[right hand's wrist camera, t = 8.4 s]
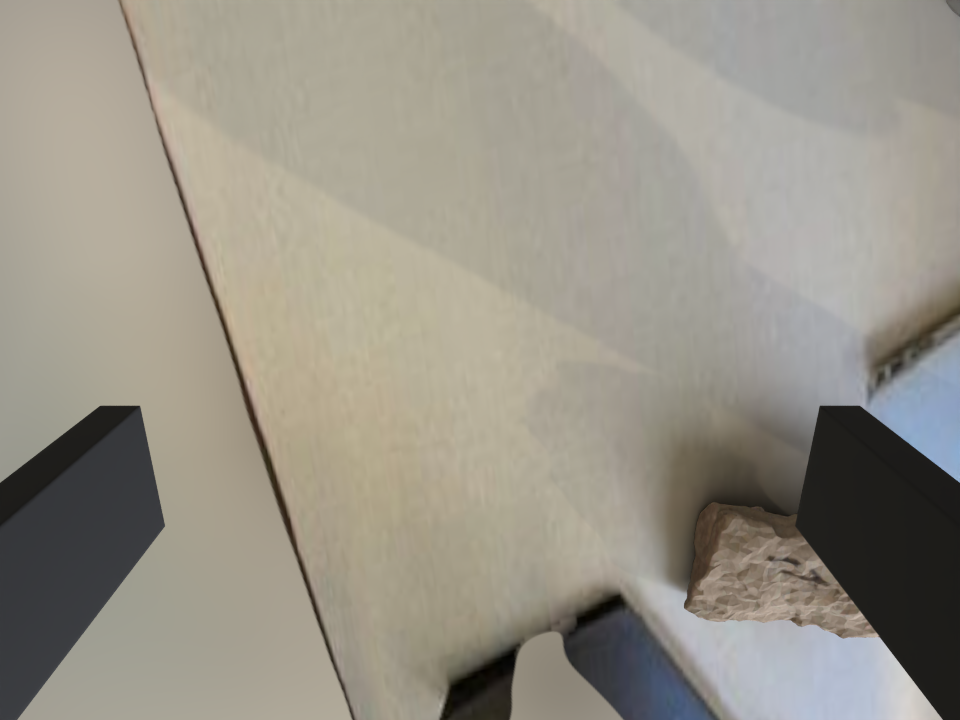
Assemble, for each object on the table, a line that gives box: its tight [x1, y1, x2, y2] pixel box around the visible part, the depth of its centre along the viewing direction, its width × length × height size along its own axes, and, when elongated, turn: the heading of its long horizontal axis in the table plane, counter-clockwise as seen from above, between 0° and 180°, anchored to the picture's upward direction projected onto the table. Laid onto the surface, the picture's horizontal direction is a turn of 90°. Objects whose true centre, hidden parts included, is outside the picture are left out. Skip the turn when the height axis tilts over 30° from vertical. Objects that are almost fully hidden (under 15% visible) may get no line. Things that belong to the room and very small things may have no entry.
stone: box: [684, 502, 879, 639], centre depth 60 cm, size 21×15×6 cm
